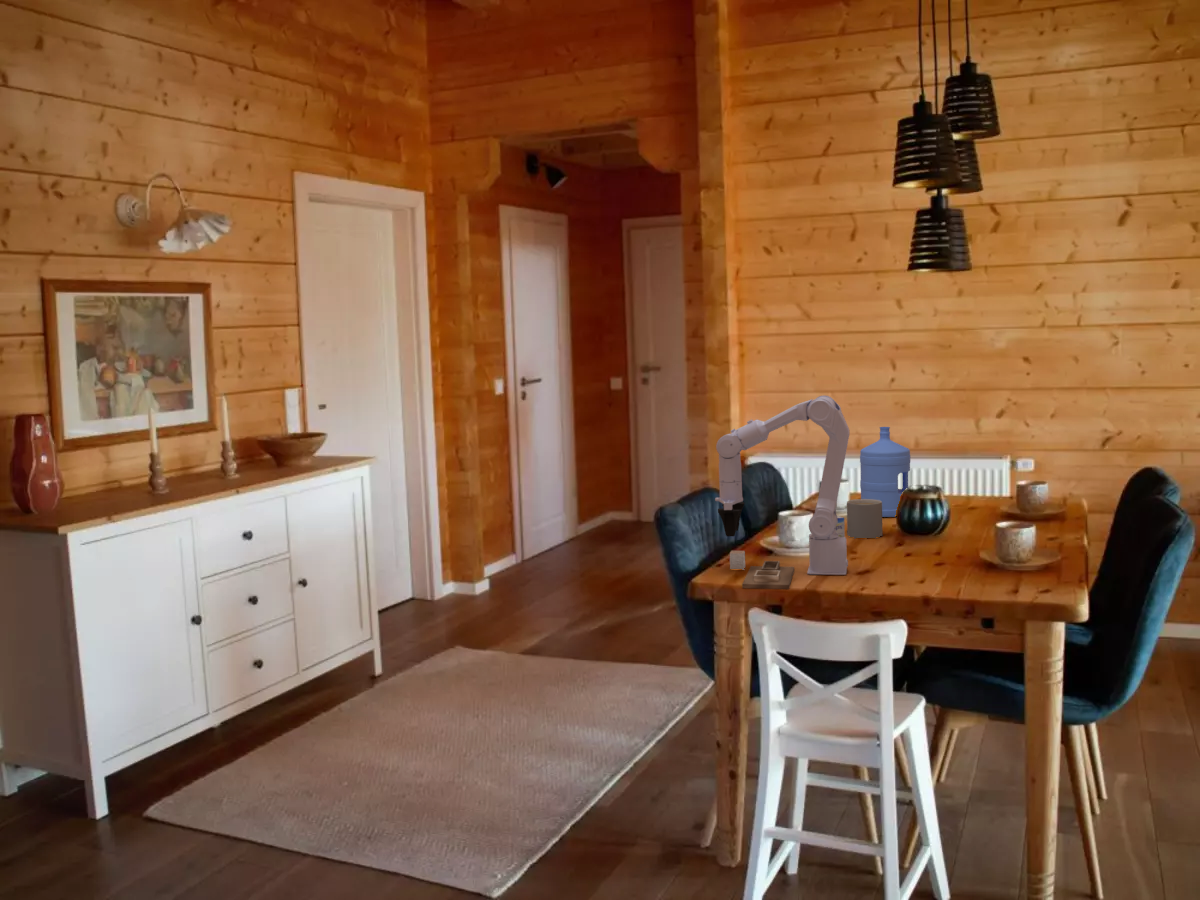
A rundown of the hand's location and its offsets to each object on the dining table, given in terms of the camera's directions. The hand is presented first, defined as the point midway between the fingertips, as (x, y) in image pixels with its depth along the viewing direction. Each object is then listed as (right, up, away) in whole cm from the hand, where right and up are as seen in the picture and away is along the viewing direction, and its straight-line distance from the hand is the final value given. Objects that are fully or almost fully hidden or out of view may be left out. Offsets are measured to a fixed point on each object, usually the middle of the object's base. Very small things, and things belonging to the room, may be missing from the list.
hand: (732, 533), depth 293 cm
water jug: (+58, +1, +73) cm, 93 cm away
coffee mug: (+44, -4, +40) cm, 59 cm away
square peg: (+2, -9, +1) cm, 10 cm away
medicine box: (+29, -6, +23) cm, 38 cm away
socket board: (+8, -10, -11) cm, 17 cm away
